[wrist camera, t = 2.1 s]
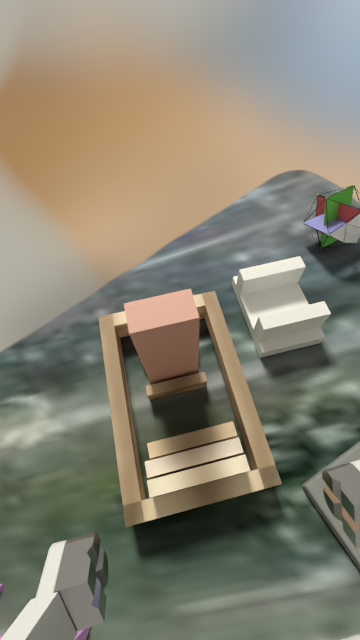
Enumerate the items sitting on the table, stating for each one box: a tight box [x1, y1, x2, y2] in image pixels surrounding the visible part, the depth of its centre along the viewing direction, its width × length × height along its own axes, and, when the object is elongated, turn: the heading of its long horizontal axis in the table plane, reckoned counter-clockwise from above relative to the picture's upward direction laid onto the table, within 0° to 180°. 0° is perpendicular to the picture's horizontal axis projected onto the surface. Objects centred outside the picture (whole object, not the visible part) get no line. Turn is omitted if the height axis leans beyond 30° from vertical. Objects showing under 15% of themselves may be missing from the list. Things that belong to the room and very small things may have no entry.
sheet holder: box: [232, 256, 331, 358], centre depth 34 cm, size 7×10×4 cm
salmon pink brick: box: [124, 289, 200, 385], centre depth 28 cm, size 5×2×13 cm, turn 103°
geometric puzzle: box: [302, 185, 360, 249], centre depth 39 cm, size 7×7×8 cm
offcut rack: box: [99, 291, 282, 527], centre depth 30 cm, size 13×20×5 cm, turn 13°
